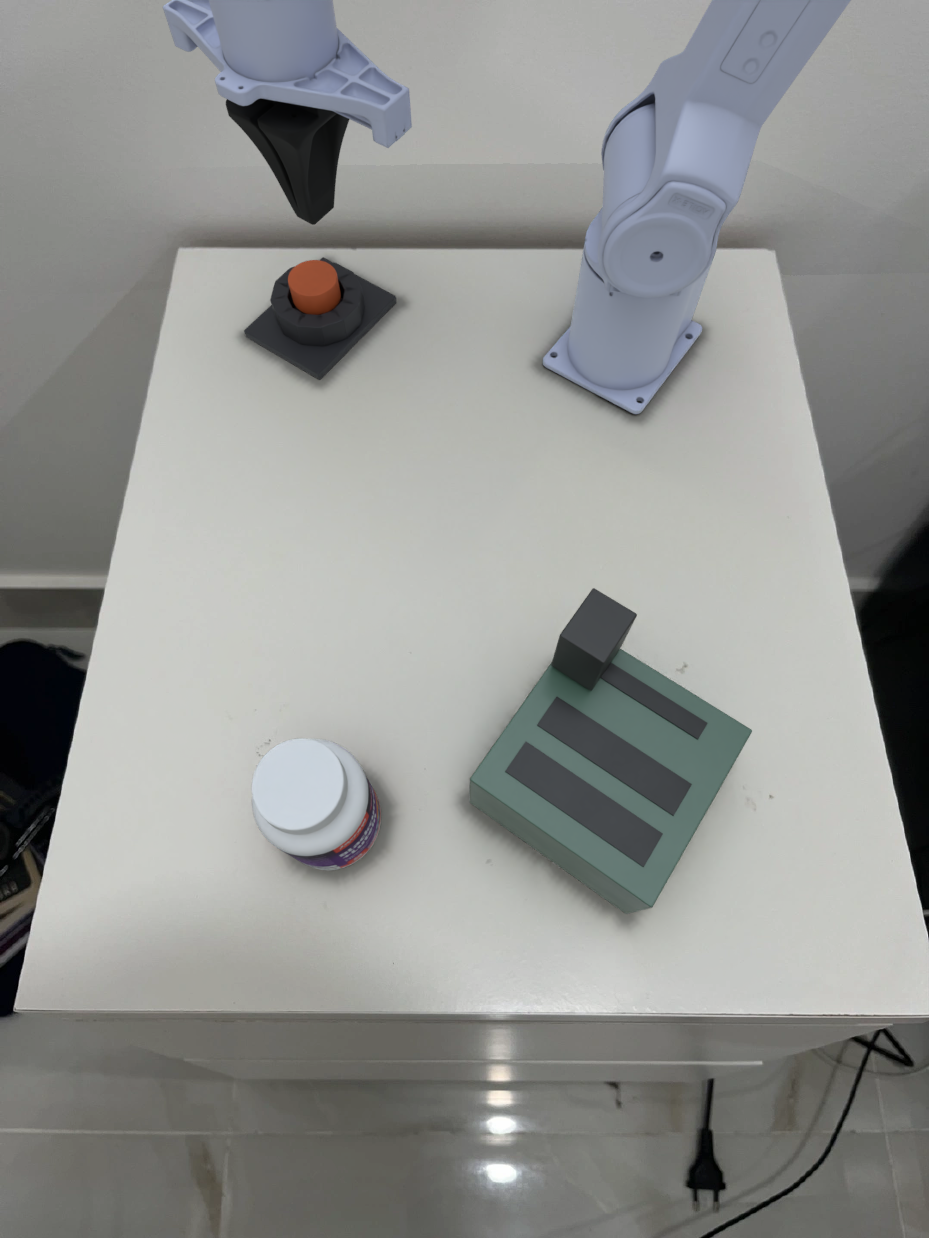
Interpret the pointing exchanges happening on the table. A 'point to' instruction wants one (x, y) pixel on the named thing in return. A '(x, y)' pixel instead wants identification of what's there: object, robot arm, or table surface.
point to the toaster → (609, 776)
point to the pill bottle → (315, 803)
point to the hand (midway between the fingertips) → (315, 211)
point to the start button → (314, 287)
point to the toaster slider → (592, 638)
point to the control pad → (319, 323)
